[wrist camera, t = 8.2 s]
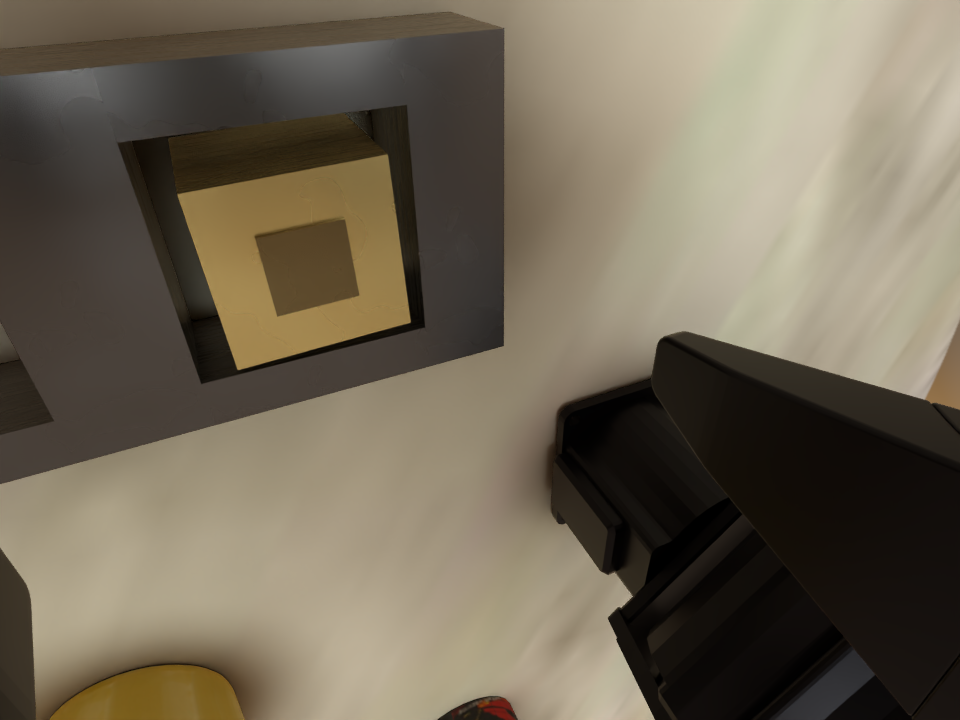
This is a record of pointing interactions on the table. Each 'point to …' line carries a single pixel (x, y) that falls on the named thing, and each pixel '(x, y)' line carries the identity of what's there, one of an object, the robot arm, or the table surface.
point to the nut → (293, 233)
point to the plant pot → (156, 696)
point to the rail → (141, 246)
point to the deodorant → (483, 710)
